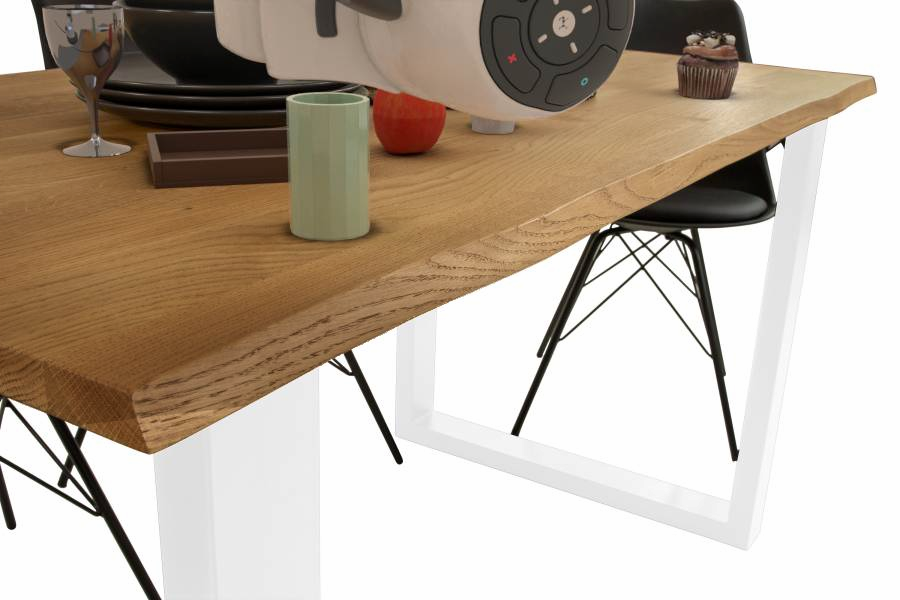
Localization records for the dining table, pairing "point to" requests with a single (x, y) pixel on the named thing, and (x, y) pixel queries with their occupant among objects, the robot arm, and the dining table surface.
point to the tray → (218, 157)
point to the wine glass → (87, 59)
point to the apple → (407, 122)
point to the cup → (328, 165)
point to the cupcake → (708, 66)
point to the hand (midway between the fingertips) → (360, 5)
